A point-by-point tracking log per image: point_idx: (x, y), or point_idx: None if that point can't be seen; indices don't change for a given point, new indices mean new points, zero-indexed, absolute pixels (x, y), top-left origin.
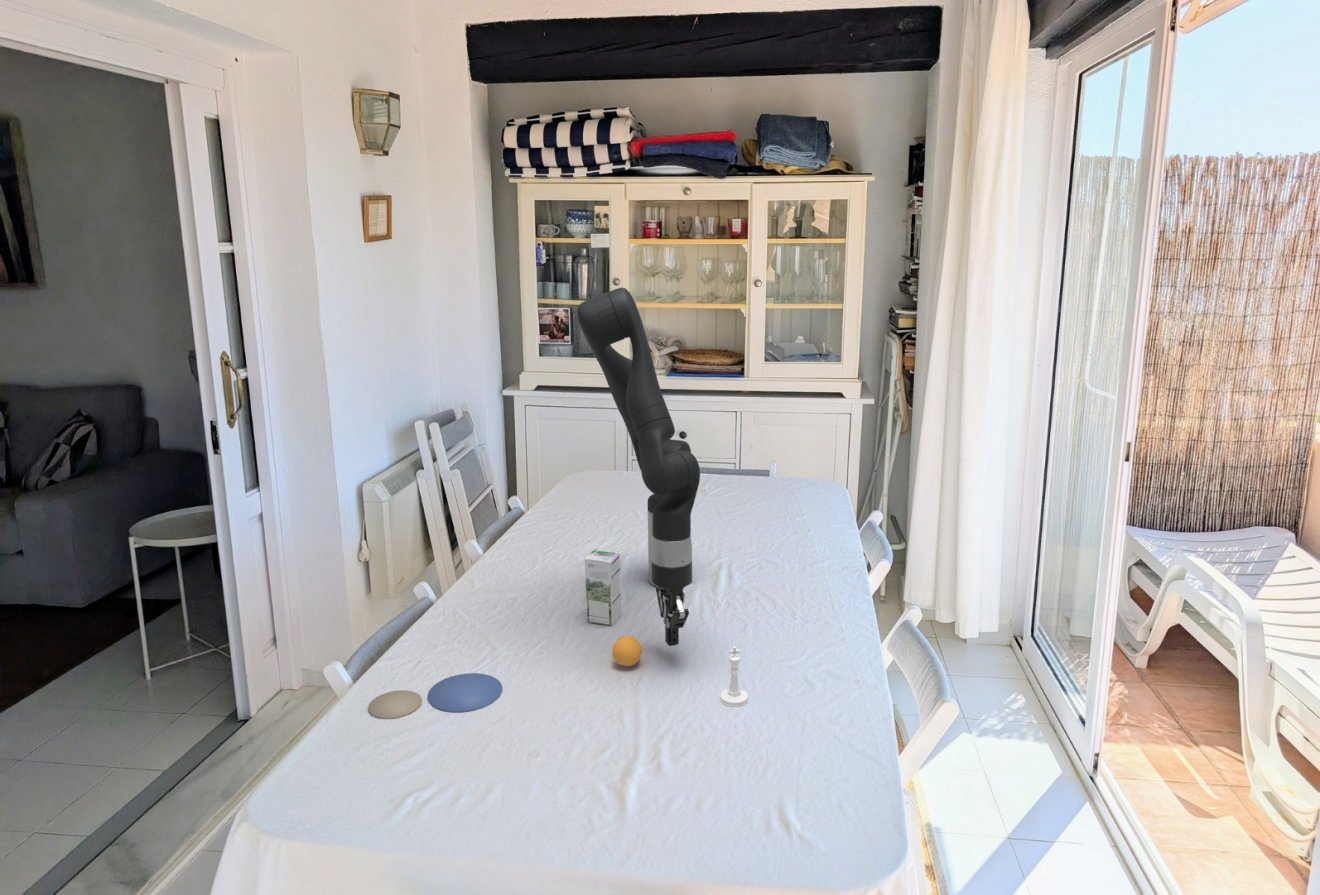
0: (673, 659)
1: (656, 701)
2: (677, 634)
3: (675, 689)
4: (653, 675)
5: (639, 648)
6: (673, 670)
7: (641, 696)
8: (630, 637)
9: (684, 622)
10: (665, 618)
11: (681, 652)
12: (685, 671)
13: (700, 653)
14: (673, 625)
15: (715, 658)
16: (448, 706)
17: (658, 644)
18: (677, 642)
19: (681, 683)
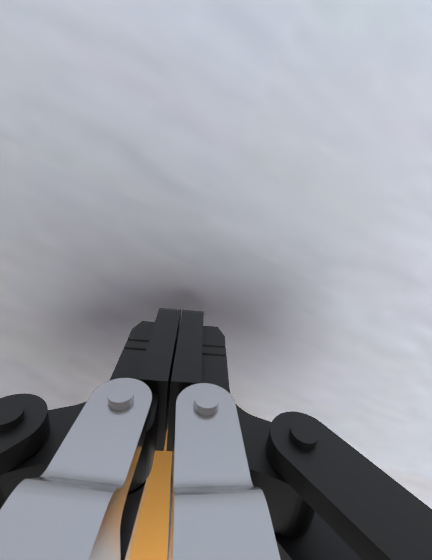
0: (207, 300)
1: (427, 437)
2: (225, 366)
3: (409, 372)
4: (284, 399)
5: None
6: (289, 332)
7: (375, 460)
8: (160, 556)
9: (420, 511)
10: (136, 520)
11: (160, 244)
12: (322, 296)
13: (207, 160)
14: (352, 551)
15: (293, 108)
16: None
17: (52, 304)
18: (220, 331)
19: (389, 342)
